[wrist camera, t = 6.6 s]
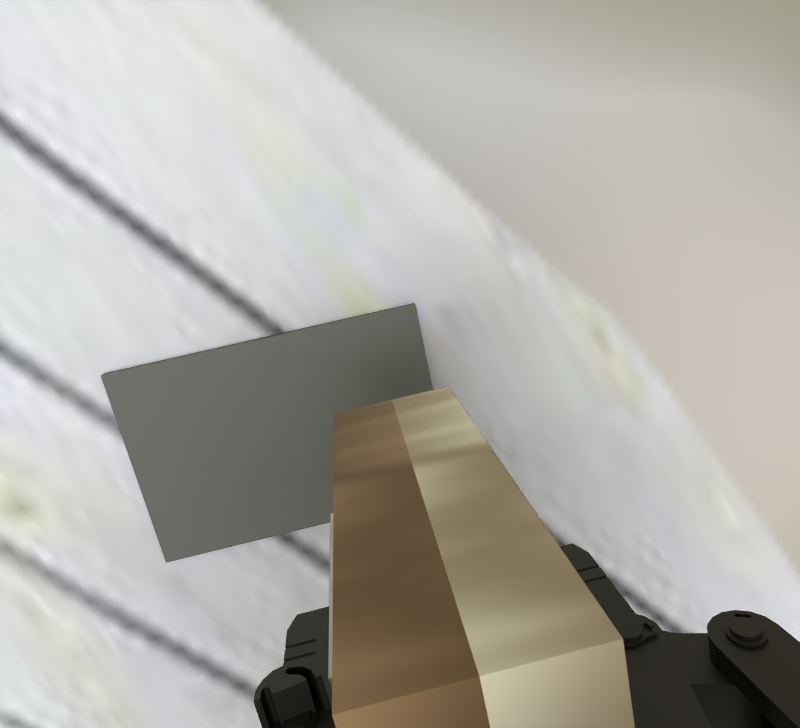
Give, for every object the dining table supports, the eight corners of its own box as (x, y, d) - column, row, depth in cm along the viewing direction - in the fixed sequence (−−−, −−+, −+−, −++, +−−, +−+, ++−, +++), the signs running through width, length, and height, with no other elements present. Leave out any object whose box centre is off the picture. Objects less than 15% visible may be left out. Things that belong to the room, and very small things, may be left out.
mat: (168, 558, 30) (166, 562, 30) (104, 373, 28) (100, 375, 27) (452, 488, 31) (453, 491, 31) (413, 303, 29) (415, 304, 28)
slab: (390, 638, 19) (457, 1143, 9) (333, 413, 17) (331, 714, 7) (493, 612, 20) (681, 1076, 9) (449, 386, 18) (622, 638, 7)
